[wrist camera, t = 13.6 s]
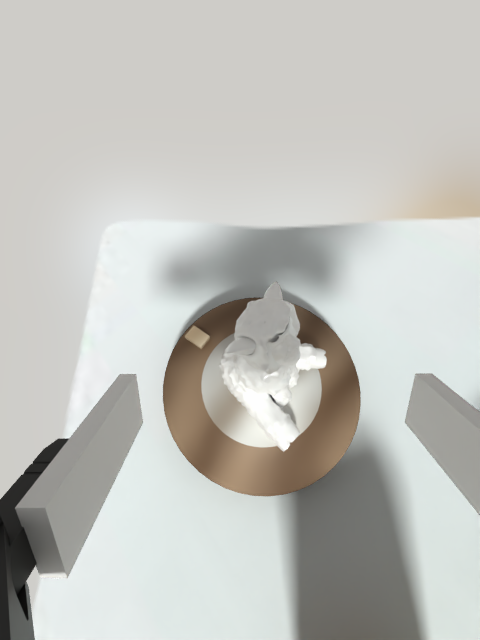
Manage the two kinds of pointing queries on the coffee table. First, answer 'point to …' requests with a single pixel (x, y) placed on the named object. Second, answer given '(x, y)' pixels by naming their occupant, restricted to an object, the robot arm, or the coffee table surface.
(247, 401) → the sitting furry creature
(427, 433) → the robot arm
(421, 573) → the coffee table surface
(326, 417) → the turntable platter
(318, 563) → the coffee table surface
